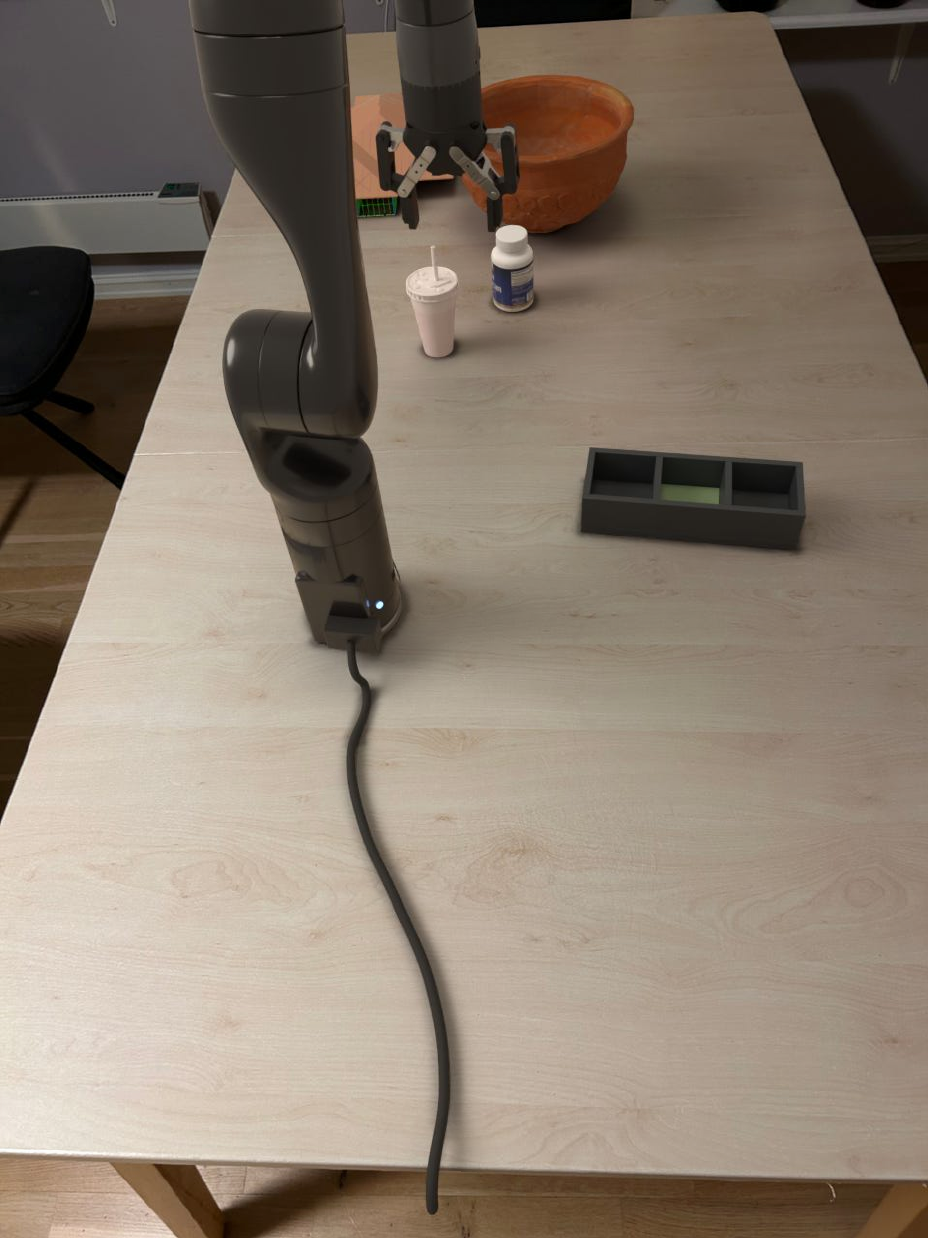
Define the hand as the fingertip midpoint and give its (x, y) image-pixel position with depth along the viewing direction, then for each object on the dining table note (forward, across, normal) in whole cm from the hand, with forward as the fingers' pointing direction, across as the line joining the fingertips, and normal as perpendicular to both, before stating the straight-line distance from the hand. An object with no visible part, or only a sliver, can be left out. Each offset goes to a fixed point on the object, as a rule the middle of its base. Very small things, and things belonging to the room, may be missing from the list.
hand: (453, 226), depth 99 cm
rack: (+19, +27, -21) cm, 39 cm away
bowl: (+21, +4, +37) cm, 43 cm away
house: (+21, -22, +52) cm, 61 cm away
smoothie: (+20, -5, +5) cm, 21 cm away
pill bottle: (+20, +4, +16) cm, 26 cm away
